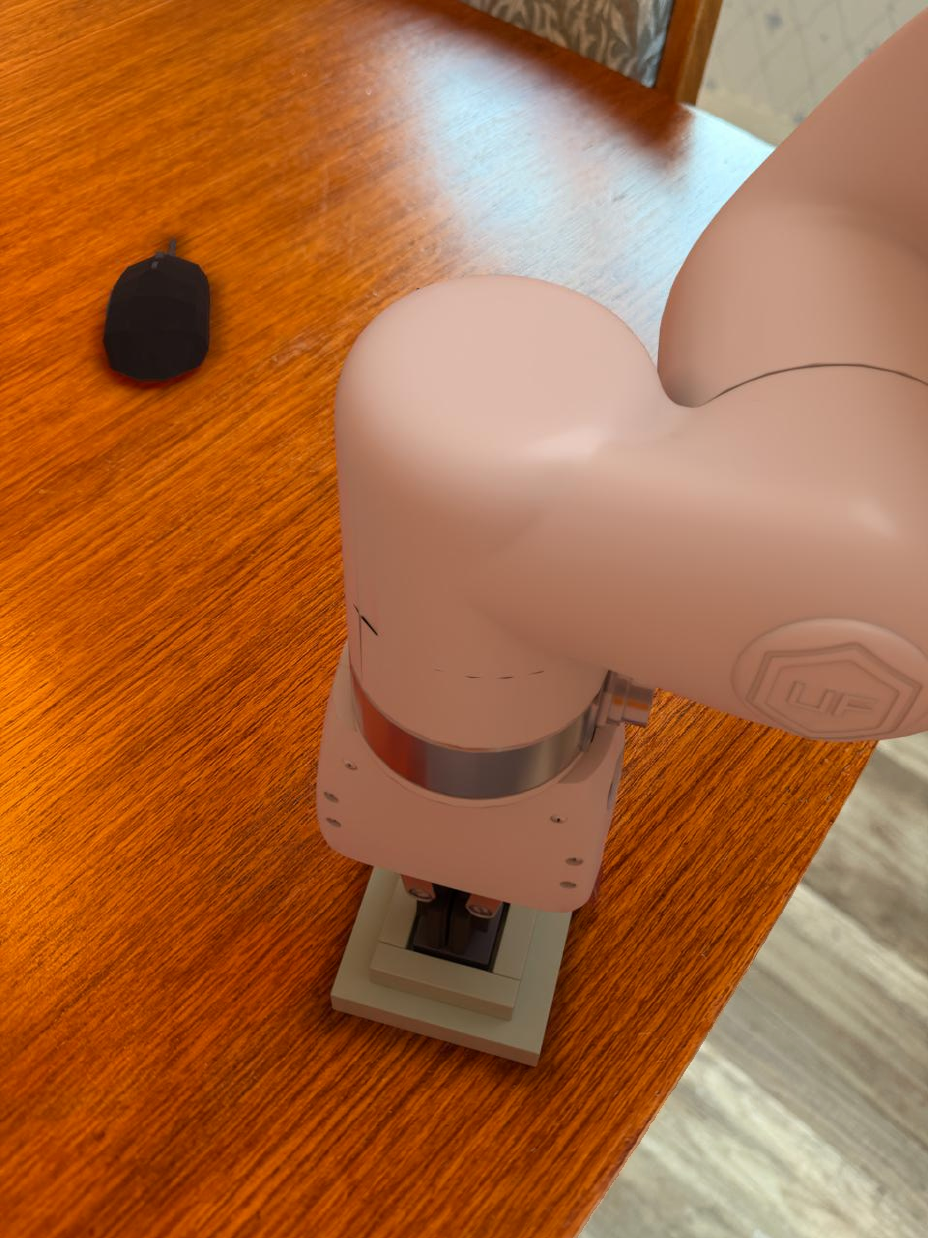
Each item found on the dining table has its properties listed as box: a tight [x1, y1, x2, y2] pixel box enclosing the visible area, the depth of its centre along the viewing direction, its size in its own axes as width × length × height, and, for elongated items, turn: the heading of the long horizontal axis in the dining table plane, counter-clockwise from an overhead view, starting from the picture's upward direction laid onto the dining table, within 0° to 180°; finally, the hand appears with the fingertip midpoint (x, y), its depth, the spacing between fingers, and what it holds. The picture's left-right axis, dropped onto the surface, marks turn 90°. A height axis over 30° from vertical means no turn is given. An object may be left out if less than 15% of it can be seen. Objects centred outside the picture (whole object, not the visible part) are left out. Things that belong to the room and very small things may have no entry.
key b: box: [413, 904, 505, 972], centre depth 51 cm, size 3×3×2 cm
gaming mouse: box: [102, 237, 211, 383], centre depth 77 cm, size 6×15×4 cm, turn 3°
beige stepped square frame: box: [330, 866, 573, 1068], centre depth 52 cm, size 9×8×4 cm
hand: (455, 917), depth 50 cm, fingers closed
